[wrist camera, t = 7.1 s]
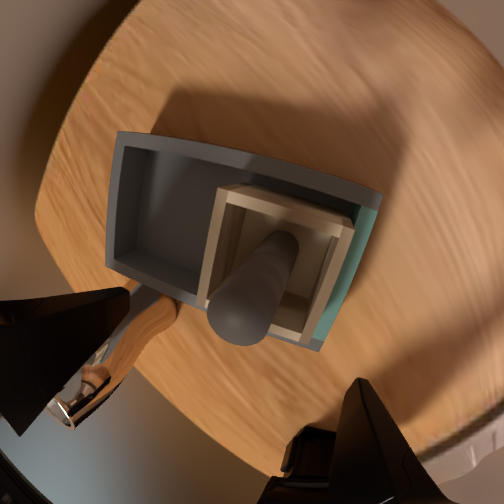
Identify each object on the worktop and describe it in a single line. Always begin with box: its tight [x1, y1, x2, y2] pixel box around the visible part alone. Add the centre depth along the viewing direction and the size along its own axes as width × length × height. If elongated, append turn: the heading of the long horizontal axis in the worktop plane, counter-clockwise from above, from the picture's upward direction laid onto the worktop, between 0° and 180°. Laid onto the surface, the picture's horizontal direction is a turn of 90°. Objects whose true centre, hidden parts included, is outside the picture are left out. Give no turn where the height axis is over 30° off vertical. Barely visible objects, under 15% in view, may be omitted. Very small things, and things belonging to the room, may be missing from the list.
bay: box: [105, 131, 383, 352], centre depth 19 cm, size 18×11×4 cm, turn 77°
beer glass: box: [44, 279, 177, 430], centre depth 18 cm, size 7×7×15 cm
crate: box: [196, 182, 355, 346], centre depth 14 cm, size 7×7×10 cm
